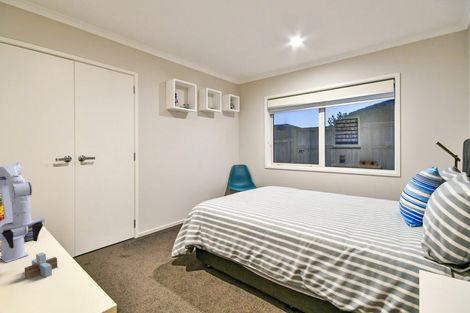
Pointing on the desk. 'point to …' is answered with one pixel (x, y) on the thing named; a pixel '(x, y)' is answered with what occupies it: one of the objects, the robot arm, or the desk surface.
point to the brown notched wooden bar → (34, 270)
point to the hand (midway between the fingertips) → (23, 244)
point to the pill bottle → (29, 235)
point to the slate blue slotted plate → (42, 264)
